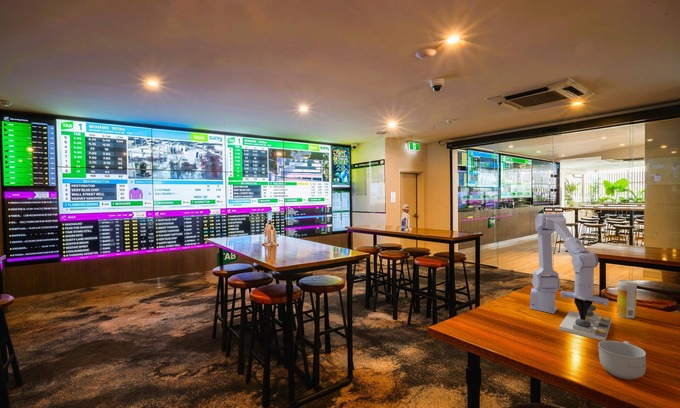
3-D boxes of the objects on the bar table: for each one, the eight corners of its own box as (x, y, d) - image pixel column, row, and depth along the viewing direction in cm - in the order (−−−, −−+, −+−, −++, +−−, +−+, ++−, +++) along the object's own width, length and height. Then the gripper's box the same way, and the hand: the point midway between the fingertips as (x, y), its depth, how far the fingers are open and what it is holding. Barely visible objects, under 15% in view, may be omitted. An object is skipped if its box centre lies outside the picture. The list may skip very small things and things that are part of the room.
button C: (581, 312, 135) (581, 305, 135) (582, 309, 139) (582, 303, 139) (594, 315, 132) (595, 308, 132) (596, 312, 135) (596, 305, 135)
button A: (574, 328, 125) (574, 321, 125) (576, 324, 128) (576, 318, 128) (589, 332, 122) (589, 325, 121) (591, 328, 125) (591, 321, 125)
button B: (577, 317, 130) (578, 311, 130) (579, 314, 133) (579, 307, 133) (592, 320, 127) (592, 314, 127) (594, 317, 130) (594, 310, 130)
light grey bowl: (635, 388, 90) (635, 360, 90) (590, 369, 100) (590, 344, 99) (657, 374, 97) (657, 348, 96) (612, 358, 106) (613, 334, 106)
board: (559, 330, 127) (559, 322, 127) (569, 313, 143) (569, 307, 143) (605, 341, 117) (605, 333, 117) (611, 322, 133) (611, 315, 133)
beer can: (628, 313, 143) (629, 279, 142) (639, 319, 136) (640, 283, 136) (613, 313, 143) (614, 279, 142) (623, 318, 137) (625, 283, 136)
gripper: (559, 282, 126) (558, 316, 127) (607, 290, 116) (606, 327, 117) (562, 278, 131) (562, 311, 132) (609, 286, 121) (608, 321, 122)
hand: (582, 319), depth 125 cm, fingers closed
